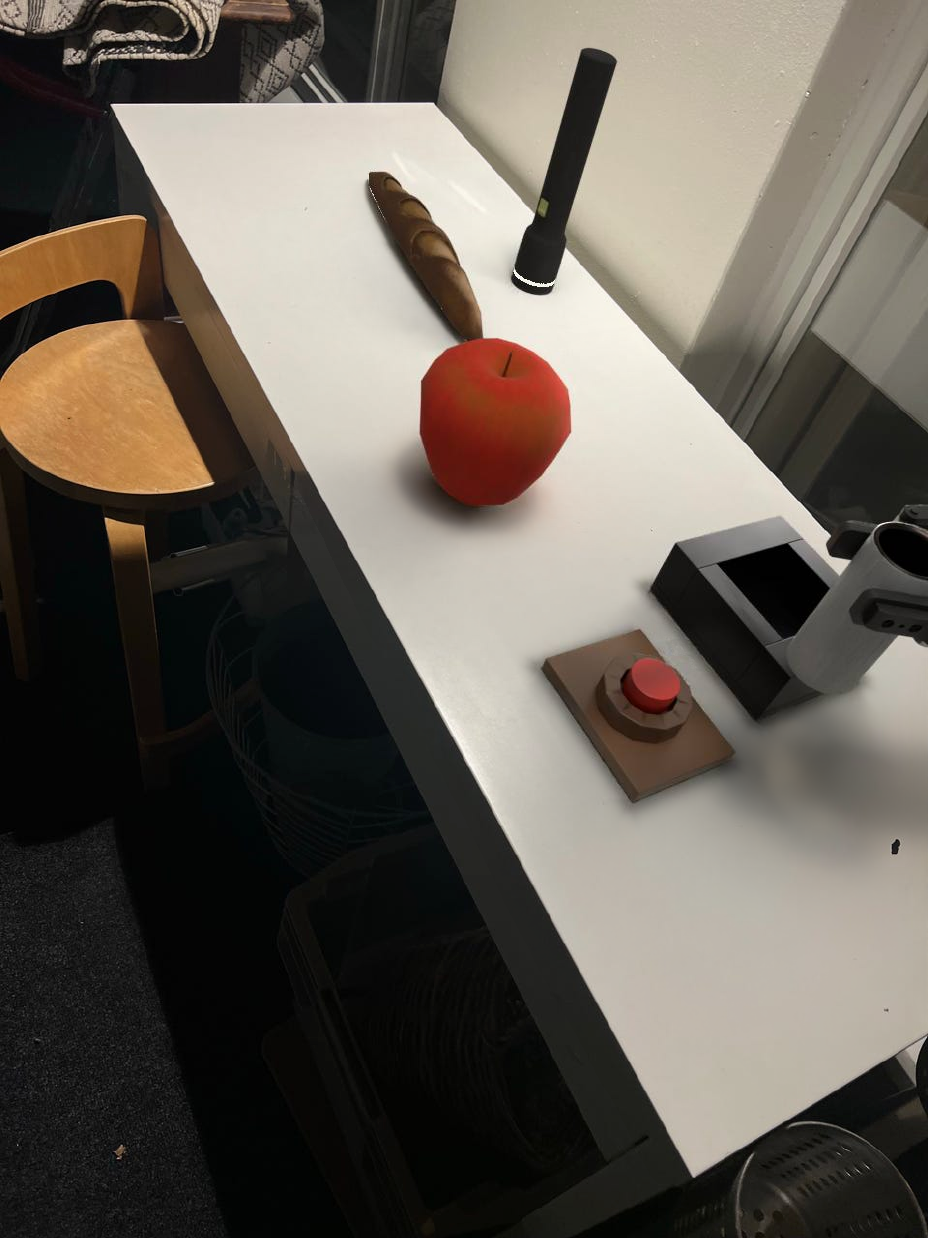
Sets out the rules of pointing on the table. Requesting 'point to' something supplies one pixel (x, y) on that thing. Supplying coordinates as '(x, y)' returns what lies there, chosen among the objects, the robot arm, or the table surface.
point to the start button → (651, 686)
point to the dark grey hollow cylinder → (829, 639)
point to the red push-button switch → (635, 717)
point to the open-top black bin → (747, 605)
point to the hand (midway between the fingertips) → (846, 571)
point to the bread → (428, 254)
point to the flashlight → (564, 172)
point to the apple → (491, 420)
